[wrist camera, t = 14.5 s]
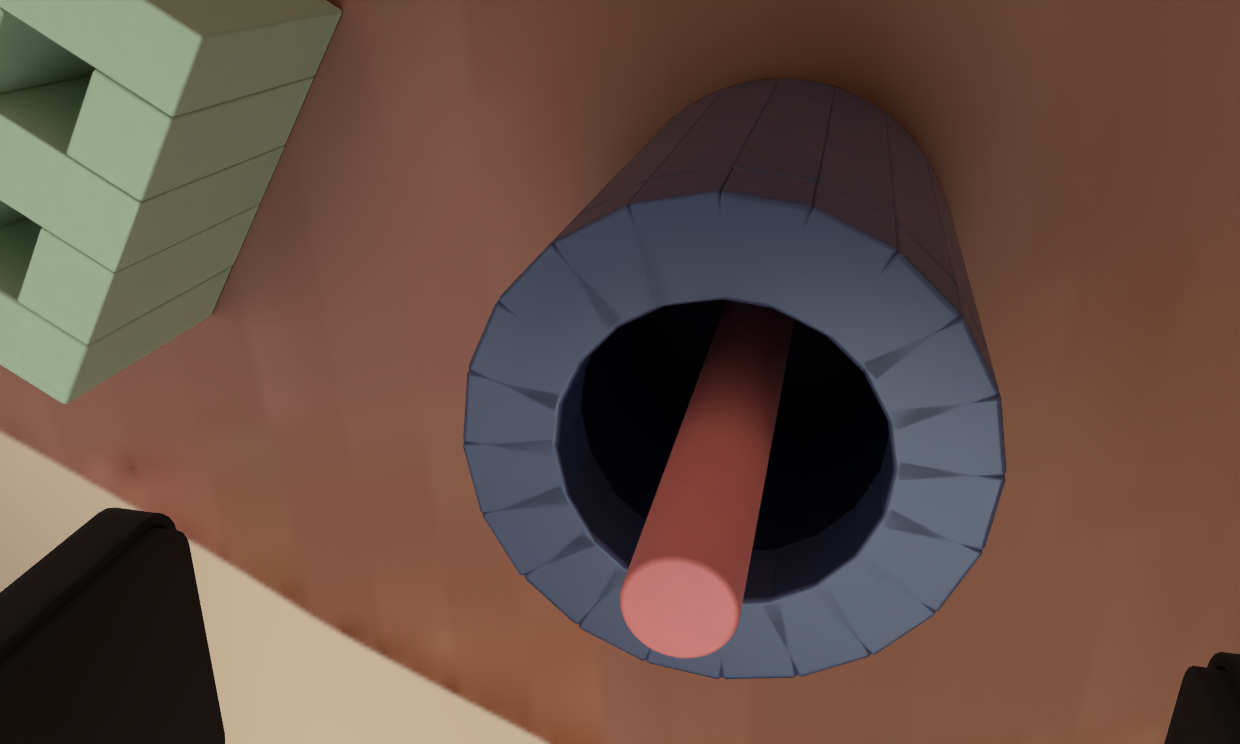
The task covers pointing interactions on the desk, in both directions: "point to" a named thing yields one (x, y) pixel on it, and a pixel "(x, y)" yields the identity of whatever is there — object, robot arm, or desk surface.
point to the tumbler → (811, 391)
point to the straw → (710, 492)
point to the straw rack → (135, 167)
